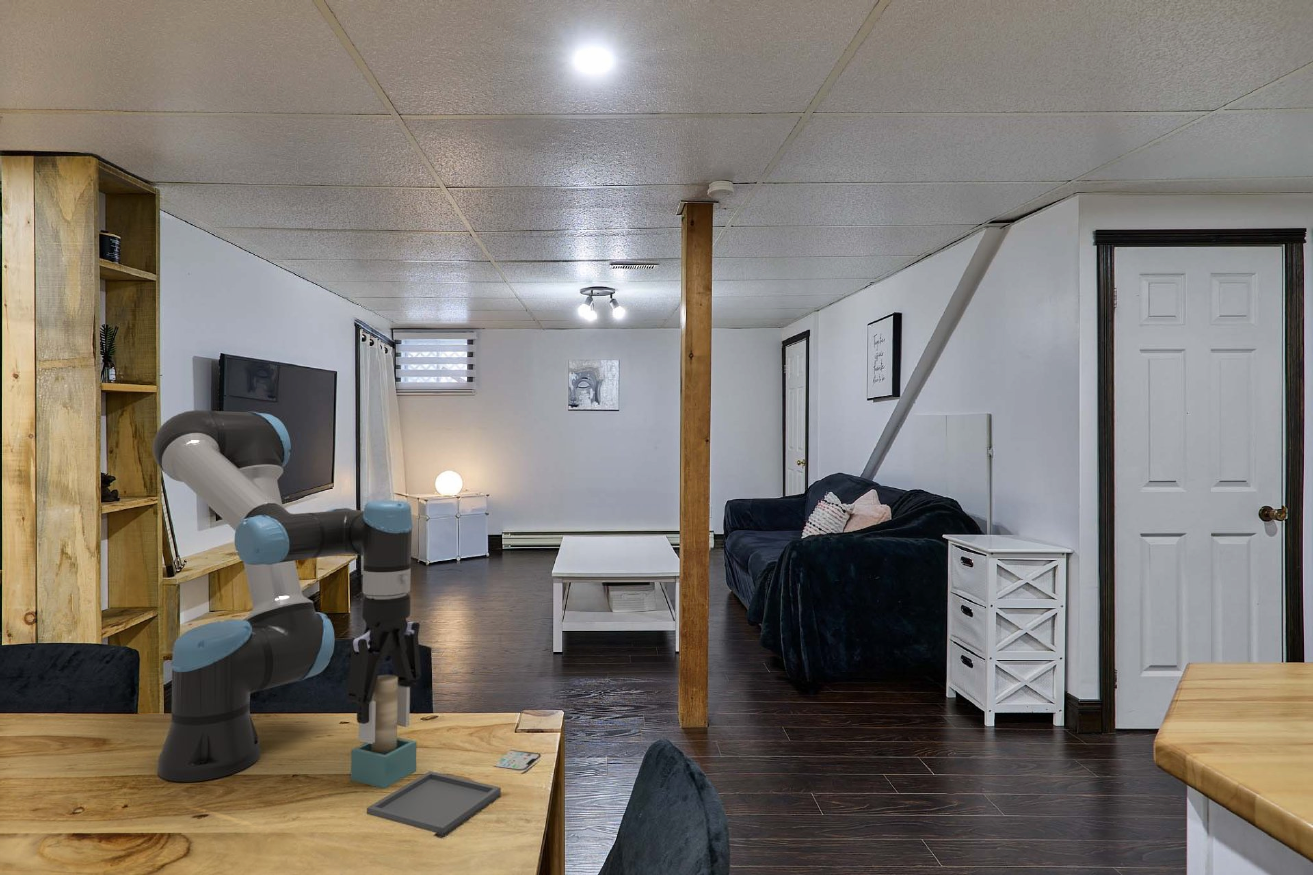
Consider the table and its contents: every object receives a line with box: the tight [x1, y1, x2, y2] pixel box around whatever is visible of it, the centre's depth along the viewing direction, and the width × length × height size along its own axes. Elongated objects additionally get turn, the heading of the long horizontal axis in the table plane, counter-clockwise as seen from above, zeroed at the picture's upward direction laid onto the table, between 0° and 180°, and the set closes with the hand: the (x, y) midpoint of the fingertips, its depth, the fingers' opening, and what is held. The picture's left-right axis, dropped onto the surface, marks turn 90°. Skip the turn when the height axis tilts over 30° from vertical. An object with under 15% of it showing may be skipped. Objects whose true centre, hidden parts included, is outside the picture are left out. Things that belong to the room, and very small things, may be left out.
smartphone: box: [492, 749, 541, 775], centre depth 134 cm, size 7×1×15 cm
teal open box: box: [350, 736, 418, 789], centre depth 126 cm, size 7×7×6 cm
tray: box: [366, 770, 502, 839], centre depth 117 cm, size 14×14×1 cm
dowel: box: [371, 674, 399, 755], centre depth 126 cm, size 4×4×16 cm
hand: (384, 732), depth 126 cm, fingers open, 7 cm apart
